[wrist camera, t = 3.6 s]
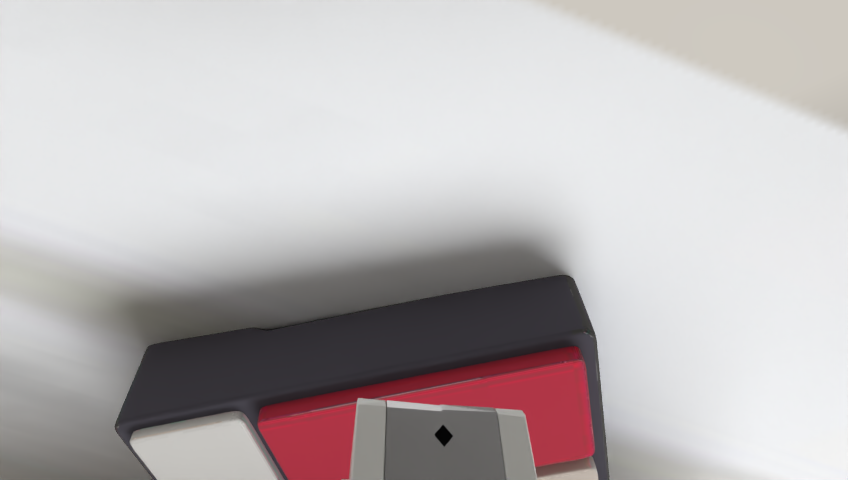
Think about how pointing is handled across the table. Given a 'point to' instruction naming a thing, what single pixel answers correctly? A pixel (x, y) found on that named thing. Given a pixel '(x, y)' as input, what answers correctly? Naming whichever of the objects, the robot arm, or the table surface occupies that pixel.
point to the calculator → (370, 385)
